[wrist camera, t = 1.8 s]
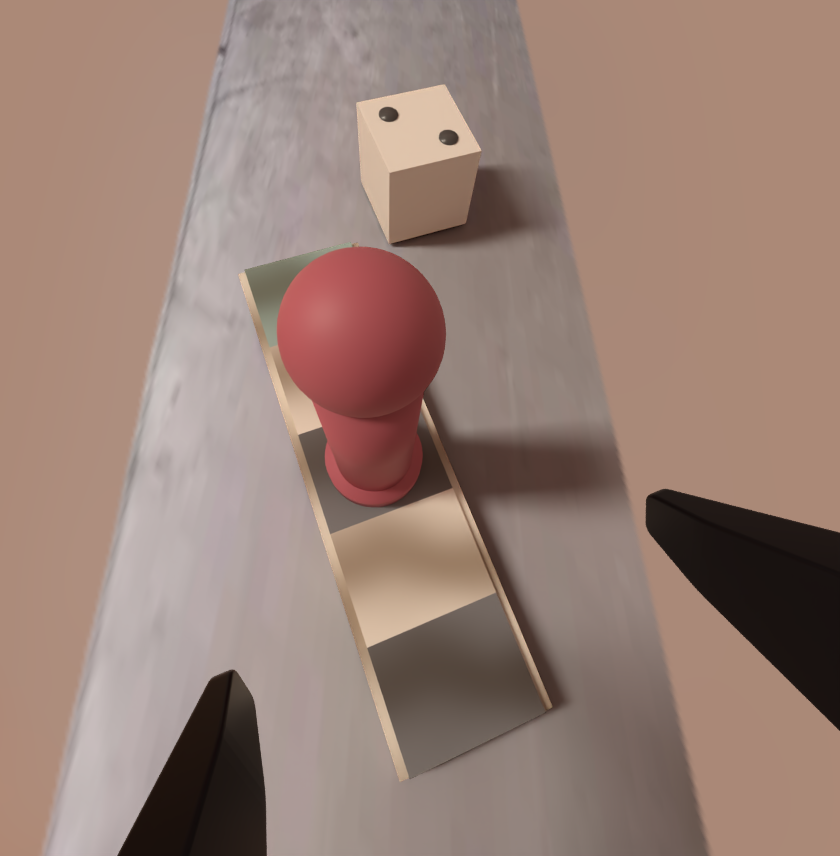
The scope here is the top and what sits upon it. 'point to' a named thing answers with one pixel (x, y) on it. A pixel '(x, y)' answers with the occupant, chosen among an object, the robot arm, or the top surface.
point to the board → (409, 580)
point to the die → (416, 161)
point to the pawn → (364, 364)
